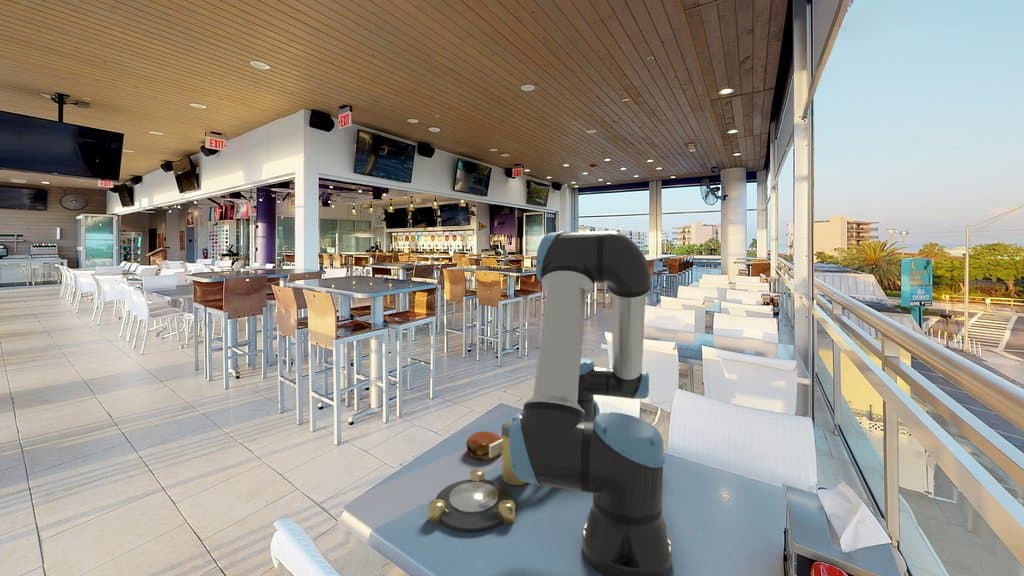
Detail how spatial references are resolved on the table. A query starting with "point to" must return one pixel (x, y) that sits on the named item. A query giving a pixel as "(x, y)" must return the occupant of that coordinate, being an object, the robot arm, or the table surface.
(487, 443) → the burger
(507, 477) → the yellow battery cell
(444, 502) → the tribrach
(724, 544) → the table surface
